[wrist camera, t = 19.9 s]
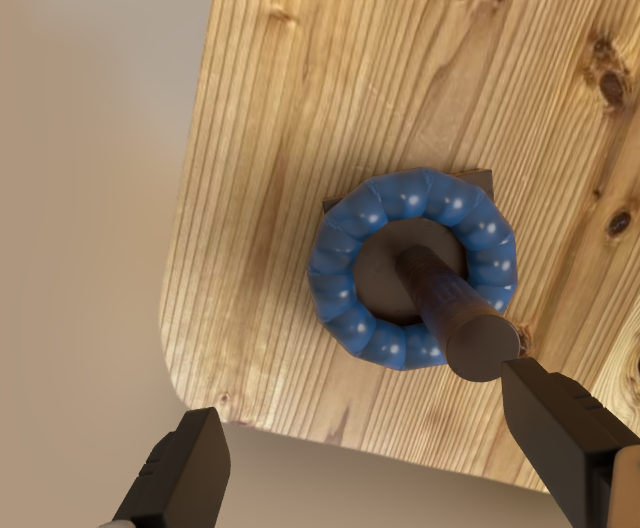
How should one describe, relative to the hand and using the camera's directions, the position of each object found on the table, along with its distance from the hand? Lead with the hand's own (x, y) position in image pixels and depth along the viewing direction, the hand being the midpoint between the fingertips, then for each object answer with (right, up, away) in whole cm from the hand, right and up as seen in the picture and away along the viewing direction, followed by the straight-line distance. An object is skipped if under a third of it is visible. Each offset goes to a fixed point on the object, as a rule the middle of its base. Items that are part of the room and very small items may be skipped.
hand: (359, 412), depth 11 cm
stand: (+4, +4, +13) cm, 14 cm away
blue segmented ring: (+4, +4, +10) cm, 12 cm away
